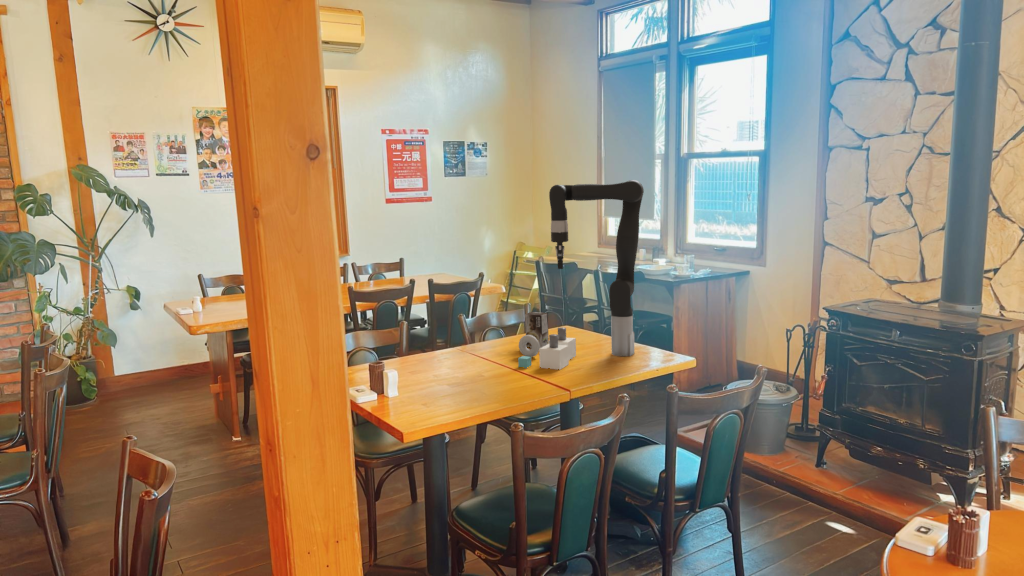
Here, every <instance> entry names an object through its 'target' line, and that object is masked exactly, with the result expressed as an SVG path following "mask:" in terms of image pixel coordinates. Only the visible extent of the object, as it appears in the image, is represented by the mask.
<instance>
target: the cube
mask: <svg viewBox="0 0 1024 576" xmlns="http://www.w3.org/2000/svg"><path fill="white" fill-rule="evenodd" d="M517 361H518V362H517V364H518V368H519V367H524V368H523V369H528V368H527V367H529V366H531V365H532V357H528V356H524V355H522V356H520V357H518V359H517ZM531 367H532V366H531ZM529 368H530V367H529Z"/></svg>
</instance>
